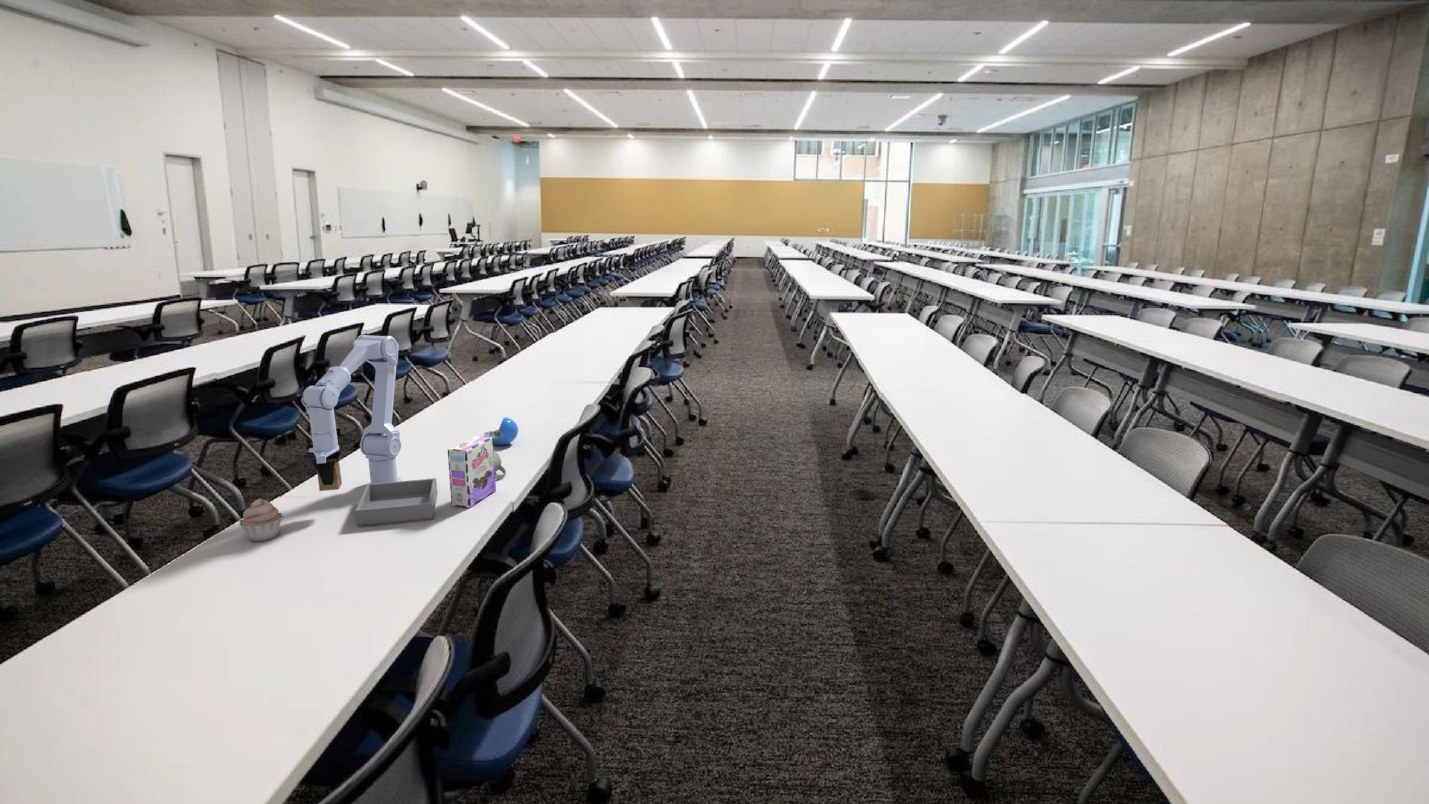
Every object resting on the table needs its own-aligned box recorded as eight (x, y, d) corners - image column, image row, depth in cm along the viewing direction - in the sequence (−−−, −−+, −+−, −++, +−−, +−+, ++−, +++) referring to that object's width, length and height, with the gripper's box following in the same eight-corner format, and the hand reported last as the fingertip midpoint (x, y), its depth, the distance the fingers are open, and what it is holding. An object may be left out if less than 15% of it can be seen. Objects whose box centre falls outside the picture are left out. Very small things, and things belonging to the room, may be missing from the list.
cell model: (490, 439, 264) (488, 413, 261) (523, 440, 263) (521, 414, 260) (479, 447, 254) (477, 420, 252) (513, 449, 253) (511, 422, 251)
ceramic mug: (465, 479, 224) (464, 455, 222) (480, 470, 231) (478, 447, 230) (498, 482, 221) (497, 458, 220) (511, 473, 229) (510, 450, 227)
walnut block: (323, 485, 197) (320, 463, 196) (341, 483, 199) (339, 462, 197) (319, 491, 193) (316, 469, 192) (338, 489, 194) (335, 467, 193)
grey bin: (368, 499, 207) (367, 484, 206) (437, 493, 212) (436, 478, 211) (357, 527, 189) (355, 510, 188) (433, 519, 194) (431, 503, 193)
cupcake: (265, 546, 177) (260, 507, 175) (232, 543, 179) (226, 504, 177) (294, 530, 186) (289, 493, 184) (262, 527, 188) (257, 490, 186)
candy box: (470, 508, 201) (465, 450, 197) (450, 506, 203) (446, 448, 199) (497, 491, 214) (493, 436, 210) (478, 489, 216) (474, 434, 212)
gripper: (312, 425, 198) (319, 473, 201) (300, 440, 184) (307, 492, 188) (342, 423, 200) (347, 471, 203) (331, 438, 186) (337, 489, 190)
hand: (330, 481), depth 196 cm, fingers closed on walnut block, 4 cm apart
